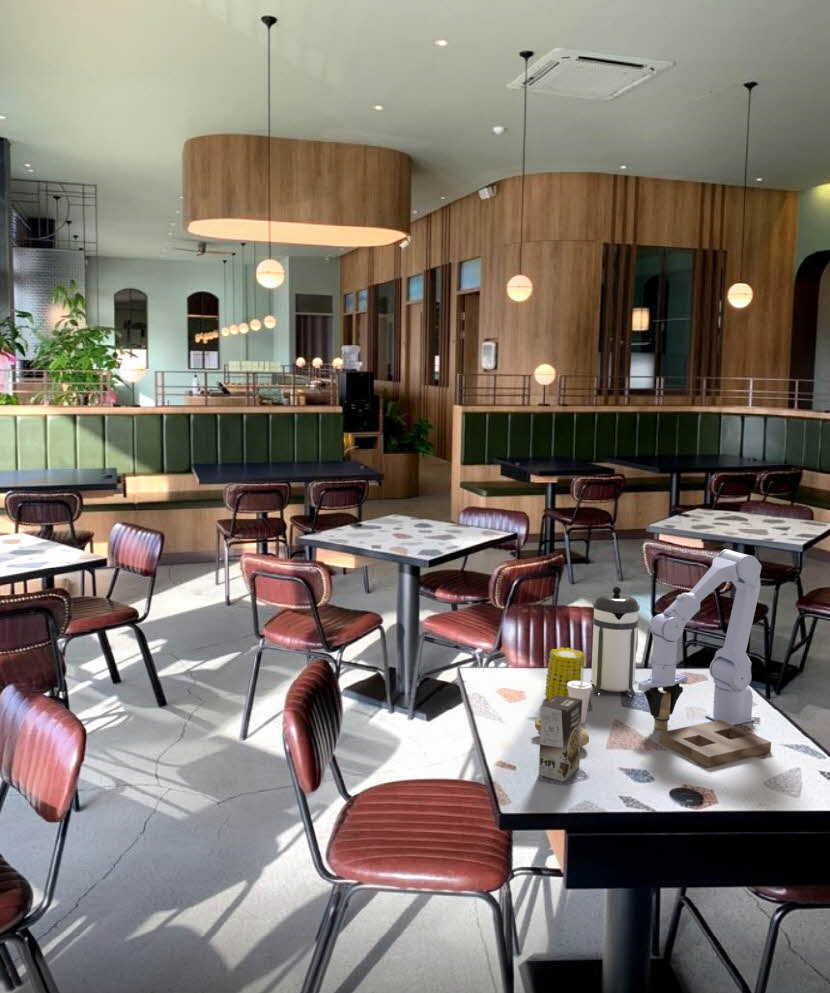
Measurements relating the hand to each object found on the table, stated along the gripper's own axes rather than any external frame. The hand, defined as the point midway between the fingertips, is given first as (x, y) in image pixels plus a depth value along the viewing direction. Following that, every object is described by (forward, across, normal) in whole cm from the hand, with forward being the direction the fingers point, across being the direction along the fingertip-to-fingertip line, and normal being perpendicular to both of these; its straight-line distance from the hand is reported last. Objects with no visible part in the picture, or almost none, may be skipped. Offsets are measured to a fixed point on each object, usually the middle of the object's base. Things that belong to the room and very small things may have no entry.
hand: (661, 714), depth 230 cm
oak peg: (+3, 0, 0) cm, 3 cm away
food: (+4, +10, -27) cm, 29 cm away
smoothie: (+4, +16, -13) cm, 21 cm away
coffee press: (+4, -8, -29) cm, 30 cm away
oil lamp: (+4, +29, -3) cm, 29 cm away
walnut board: (+3, -3, +15) cm, 16 cm away
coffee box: (+4, +39, +10) cm, 40 cm away
